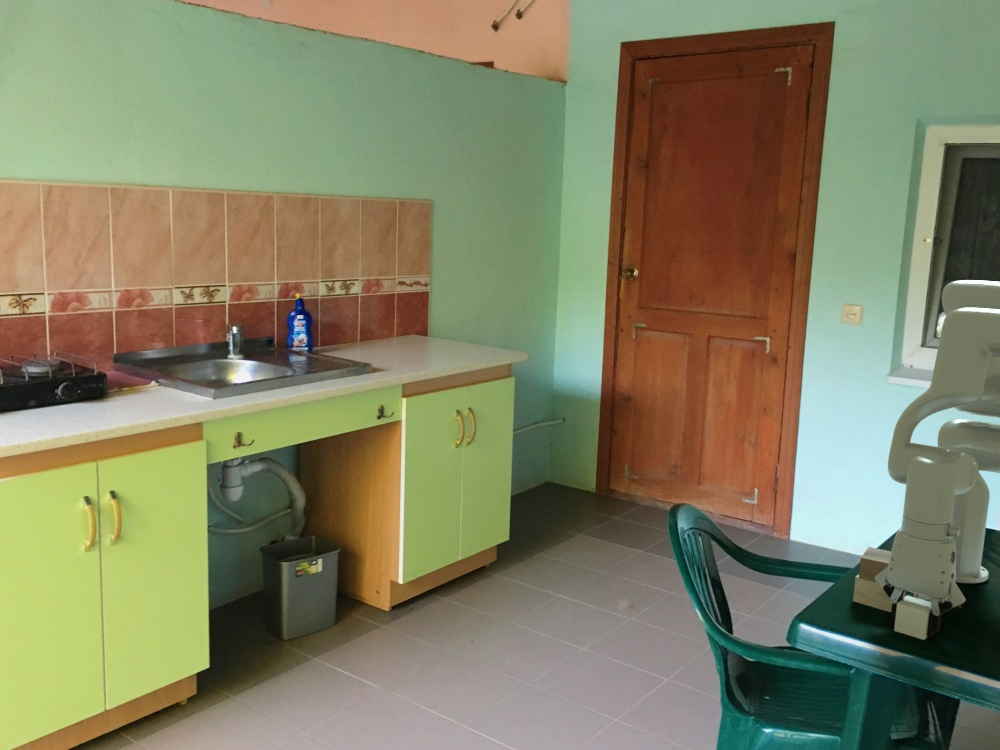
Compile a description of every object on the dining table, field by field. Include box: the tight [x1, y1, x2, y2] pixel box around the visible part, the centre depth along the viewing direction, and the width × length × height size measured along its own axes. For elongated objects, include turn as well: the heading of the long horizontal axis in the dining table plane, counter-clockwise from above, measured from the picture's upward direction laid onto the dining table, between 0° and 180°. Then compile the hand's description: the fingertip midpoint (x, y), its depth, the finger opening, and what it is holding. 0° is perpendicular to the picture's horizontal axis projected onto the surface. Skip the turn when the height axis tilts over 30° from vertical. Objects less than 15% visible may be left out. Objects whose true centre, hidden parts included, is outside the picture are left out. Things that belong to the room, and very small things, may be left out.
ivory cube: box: [893, 594, 932, 641], centre depth 160 cm, size 5×5×5 cm
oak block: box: [852, 573, 907, 613], centre depth 173 cm, size 7×7×5 cm
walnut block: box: [858, 546, 891, 582], centre depth 172 cm, size 7×7×4 cm
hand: (914, 628), depth 160 cm, fingers closed on ivory cube, 5 cm apart
